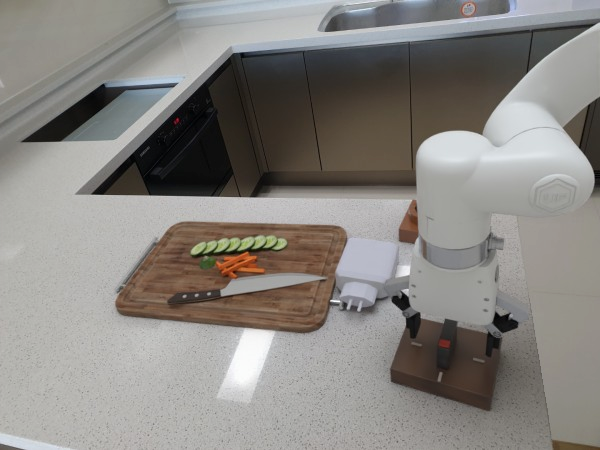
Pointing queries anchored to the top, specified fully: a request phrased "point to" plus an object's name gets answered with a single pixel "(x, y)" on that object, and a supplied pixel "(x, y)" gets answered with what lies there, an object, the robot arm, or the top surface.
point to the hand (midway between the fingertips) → (451, 339)
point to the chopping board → (237, 275)
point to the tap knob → (446, 343)
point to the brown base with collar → (409, 224)
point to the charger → (365, 270)
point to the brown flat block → (462, 371)
